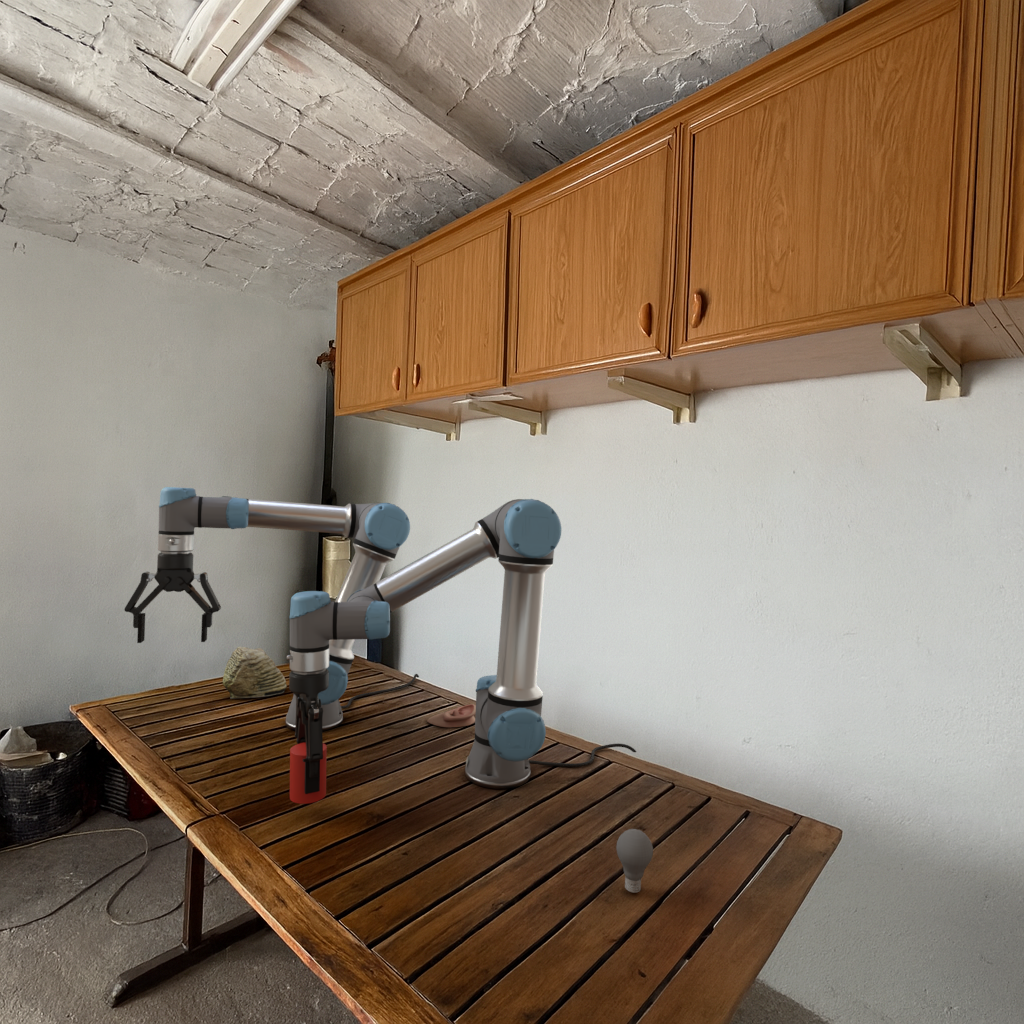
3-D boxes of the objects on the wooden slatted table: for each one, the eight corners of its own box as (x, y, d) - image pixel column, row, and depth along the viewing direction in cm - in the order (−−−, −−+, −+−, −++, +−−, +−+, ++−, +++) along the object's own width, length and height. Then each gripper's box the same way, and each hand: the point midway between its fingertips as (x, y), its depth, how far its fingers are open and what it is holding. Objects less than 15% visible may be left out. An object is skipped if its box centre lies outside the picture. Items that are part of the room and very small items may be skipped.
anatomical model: (423, 710, 178) (436, 698, 189) (423, 725, 178) (436, 711, 189) (469, 716, 175) (479, 703, 186) (468, 730, 175) (479, 716, 186)
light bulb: (610, 879, 108) (613, 822, 108) (644, 879, 109) (647, 822, 109) (619, 902, 102) (622, 840, 102) (655, 901, 103) (658, 840, 103)
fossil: (218, 695, 195) (220, 647, 195) (278, 685, 208) (279, 640, 207) (228, 703, 189) (230, 653, 188) (289, 692, 201) (290, 645, 201)
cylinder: (326, 801, 124) (326, 753, 124) (288, 805, 122) (289, 756, 122) (326, 785, 131) (326, 740, 131) (290, 789, 129) (290, 743, 129)
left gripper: (110, 552, 143) (107, 645, 144) (229, 554, 150) (226, 643, 150) (122, 549, 151) (119, 638, 151) (235, 551, 157) (232, 637, 157)
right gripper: (280, 660, 133) (279, 768, 133) (299, 685, 116) (298, 810, 116) (317, 656, 137) (316, 761, 137) (340, 680, 119) (339, 801, 120)
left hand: (172, 641), depth 151 cm, fingers open, 13 cm apart
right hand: (308, 783), depth 127 cm, fingers closed on cylinder, 7 cm apart
